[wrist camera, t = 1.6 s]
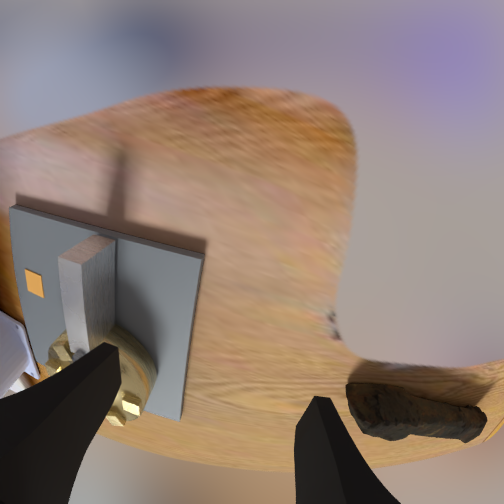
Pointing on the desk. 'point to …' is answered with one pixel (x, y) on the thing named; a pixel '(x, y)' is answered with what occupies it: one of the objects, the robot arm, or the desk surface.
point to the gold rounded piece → (99, 325)
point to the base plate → (126, 294)
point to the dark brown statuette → (410, 414)
